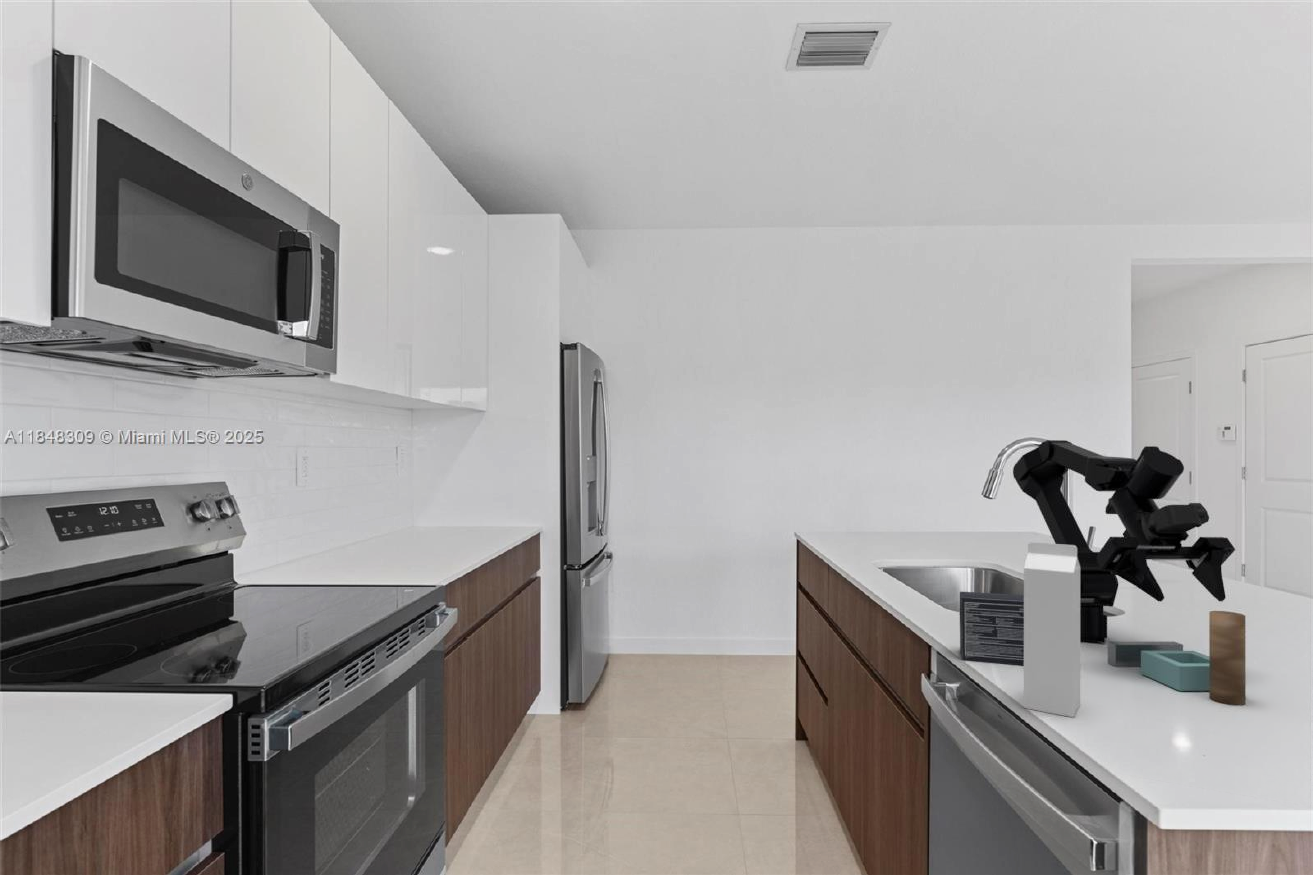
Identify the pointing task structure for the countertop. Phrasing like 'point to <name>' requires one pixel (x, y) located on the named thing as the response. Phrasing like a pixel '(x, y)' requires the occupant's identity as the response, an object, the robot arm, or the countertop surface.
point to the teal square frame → (1177, 669)
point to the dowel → (1227, 658)
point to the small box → (992, 627)
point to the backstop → (1136, 651)
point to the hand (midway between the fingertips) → (1192, 599)
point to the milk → (1052, 629)
